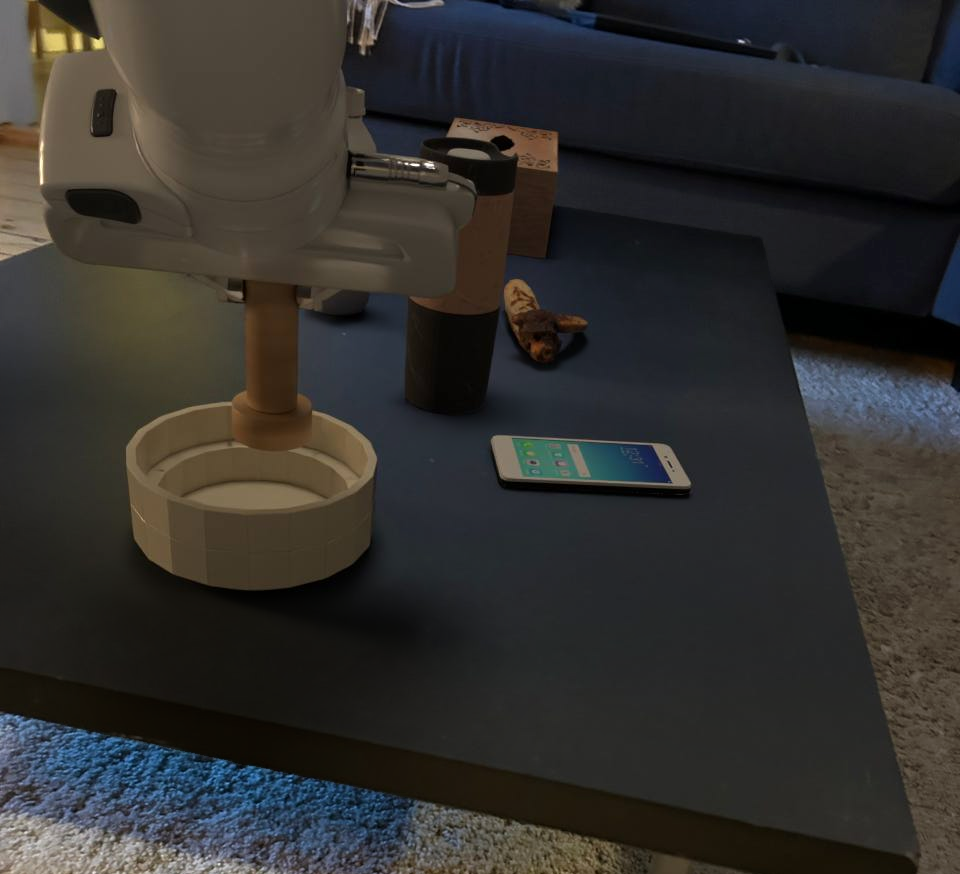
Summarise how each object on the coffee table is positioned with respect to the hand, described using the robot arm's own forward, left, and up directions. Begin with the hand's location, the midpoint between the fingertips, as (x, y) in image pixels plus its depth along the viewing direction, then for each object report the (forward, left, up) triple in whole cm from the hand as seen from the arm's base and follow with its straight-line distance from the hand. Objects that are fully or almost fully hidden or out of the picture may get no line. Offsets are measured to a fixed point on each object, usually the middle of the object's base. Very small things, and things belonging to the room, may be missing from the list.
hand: (272, 294), depth 58 cm
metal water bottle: (-2, +43, -16) cm, 46 cm away
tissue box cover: (+13, +84, -16) cm, 87 cm away
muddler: (0, -1, -8) cm, 8 cm away
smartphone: (+22, +14, -16) cm, 31 cm away
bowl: (-1, -1, -16) cm, 16 cm away
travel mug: (+10, +25, -16) cm, 32 cm away
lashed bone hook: (+19, +43, -16) cm, 50 cm away
